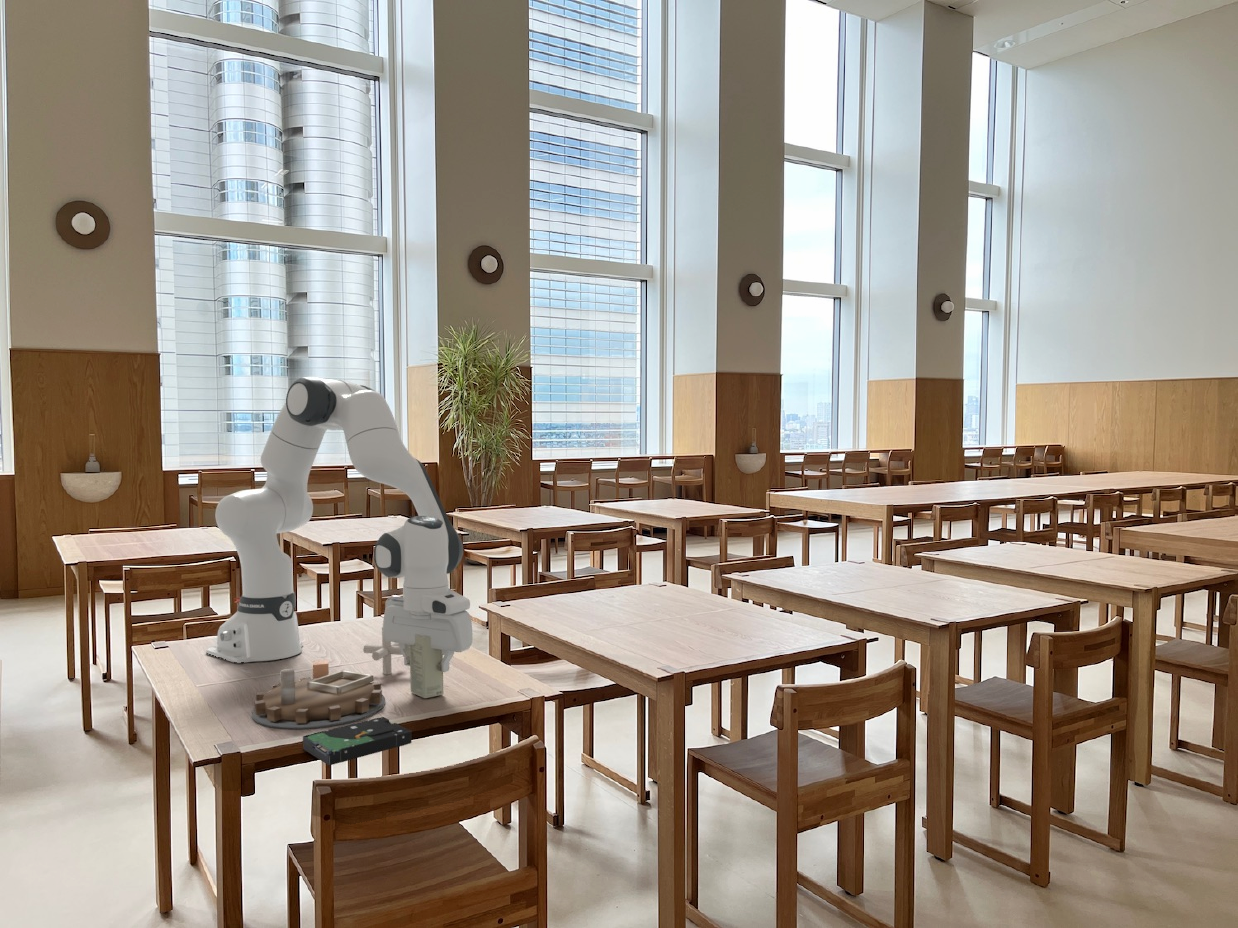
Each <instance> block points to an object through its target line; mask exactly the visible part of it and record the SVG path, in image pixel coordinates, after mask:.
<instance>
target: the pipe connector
mask: <svg viewBox="0 0 1238 928" xmlns="http://www.w3.org/2000/svg"><path fill="white" fill-rule="evenodd" d="M381 639H382V643H381V644H382V645H379V644H364V645H363V648H362V649H363V653H364V654H371V657H372V659H373V660H374V661H379V660H381V659H382V674H383V675H390V674H392V672H393V671H392V670H393V669H392V655H398V656H399V655H400V656H403V655H402V653H401V651H400V649H399V643H395V642H389V641H385V639H384V637H383V626H382V627H381Z"/></svg>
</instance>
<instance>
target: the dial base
mask: <svg viewBox="0 0 1238 928" xmlns="http://www.w3.org/2000/svg"><path fill="white" fill-rule="evenodd" d="M385 705H386V698H385V695H383V694H382V701H381V703H380V704H371V705H369V711H366V712H364V713H358V712H354V713H351V714H348V715H344V716H341V719H338V720H332V721H331V720H330V719H329V718H328V719H320V720H308V722H307V723H296V720H283V719H281V720H278V721H275V722H273V721H268V720H267V715H266V714H261V715H256V714H255V713H254V707H253V708H252V710H251V719H252V720H253V721H254V722H255V723H257V724H258V725H261V726H263V727H268V728H272V729H281V730H311V729H323V728H330V727H337V726H341V725H346V724H347V725H348V724H350V723H355V722H357V721H361V720H364V719H367V718H368V717H369V718H370V716H373V715H375V714H378V712H379V711H382V709H383V708H384V707H385Z"/></svg>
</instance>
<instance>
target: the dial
mask: <svg viewBox="0 0 1238 928" xmlns="http://www.w3.org/2000/svg"><path fill="white" fill-rule="evenodd" d="M295 671H296V670H295V669H294V668H285V669H281V670H280V673H279V674H280V682H279V683H276V684H273V685H272V689H270V690H268V691H259V692H258V693H256V694H255V696H256V697H255V699H256V700H254V701H253V704H254V705H253V708H254V713H255V714H256V715H261V714H266V715H267V720H268V721H273V722H275V721H278V720H281V719H283V720H296V723H307V722H308V720H320V719H328V718H329V719H330V720H331V721H332V720H338V719H341V716H344V715H348V714H351V713H354V712H358V713H364V712H366V711H369V705H371V704H380V703H381V701H382V695H383V690H382V686H381V685H382V684H381V682H379V681H374V675H373V674H366V673H361V672H356V671H350V670H349V671H348V670H344V669H343V670H342V669H341V670H339V671H335V672H333V673H331V674H330V673H329V675H327V676H324V677H321V678H316V679H313V678H311V677H309V676H308V677H301V678H300V679H299V680H298V681H296V677H295V675H296V673H295Z"/></svg>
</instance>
